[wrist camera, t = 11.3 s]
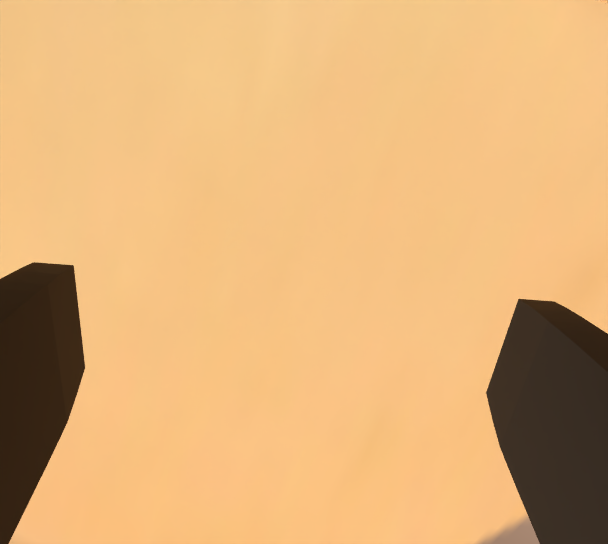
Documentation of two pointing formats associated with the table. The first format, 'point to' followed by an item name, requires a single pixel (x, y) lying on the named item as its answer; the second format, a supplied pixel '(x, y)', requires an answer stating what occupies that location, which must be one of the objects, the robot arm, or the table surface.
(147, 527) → the table surface
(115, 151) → the table surface
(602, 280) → the table surface
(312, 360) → the table surface
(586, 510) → the robot arm
